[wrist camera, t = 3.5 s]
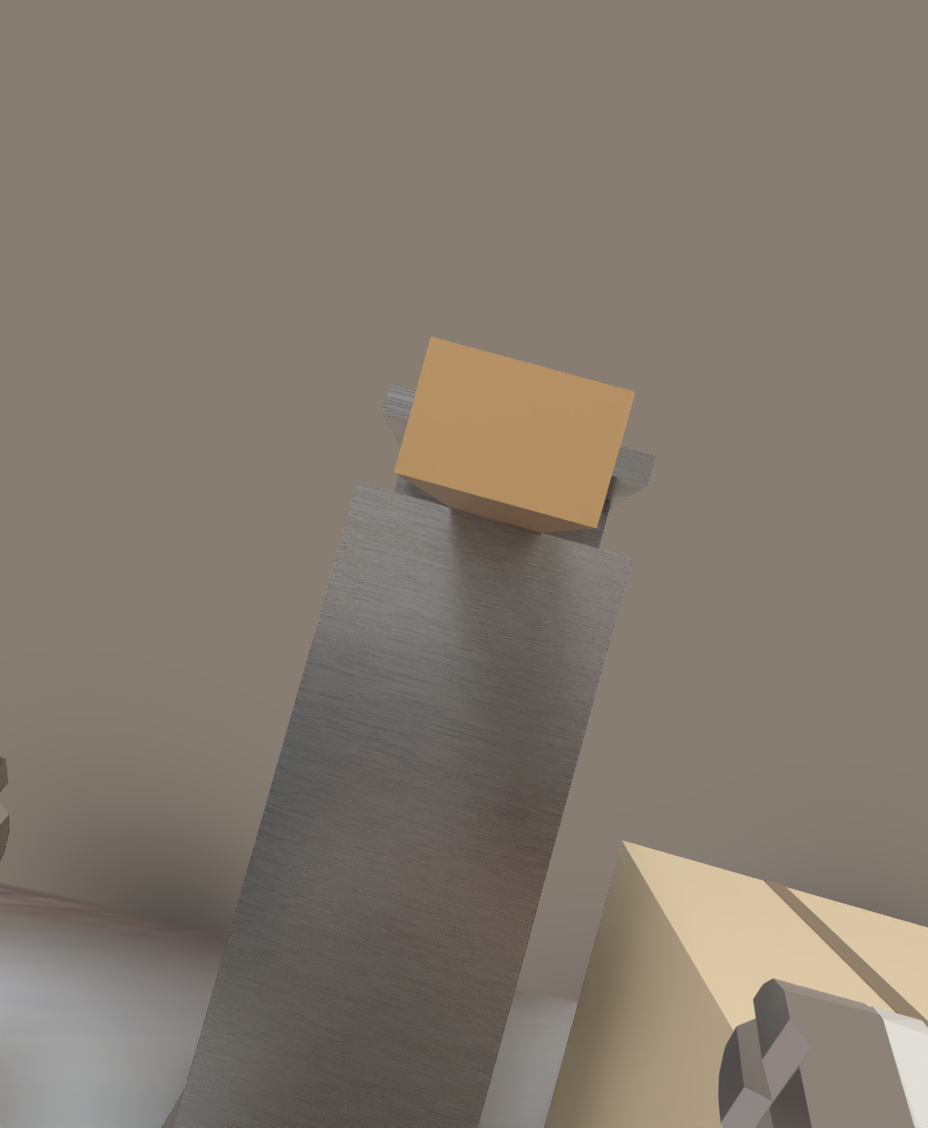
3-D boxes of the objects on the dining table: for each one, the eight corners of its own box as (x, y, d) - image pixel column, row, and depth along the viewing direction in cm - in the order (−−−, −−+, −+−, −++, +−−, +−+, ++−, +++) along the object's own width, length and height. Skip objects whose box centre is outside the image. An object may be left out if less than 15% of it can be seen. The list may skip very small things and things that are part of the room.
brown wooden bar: (596, 528, 12) (635, 391, 12) (394, 472, 12) (430, 336, 12) (532, 533, 34) (546, 484, 34) (459, 513, 34) (472, 464, 34)
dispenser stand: (455, 1426, 25) (716, 458, 26) (64, 1306, 26) (337, 355, 27) (463, 1132, 39) (634, 506, 40) (210, 1057, 40) (385, 438, 41)
